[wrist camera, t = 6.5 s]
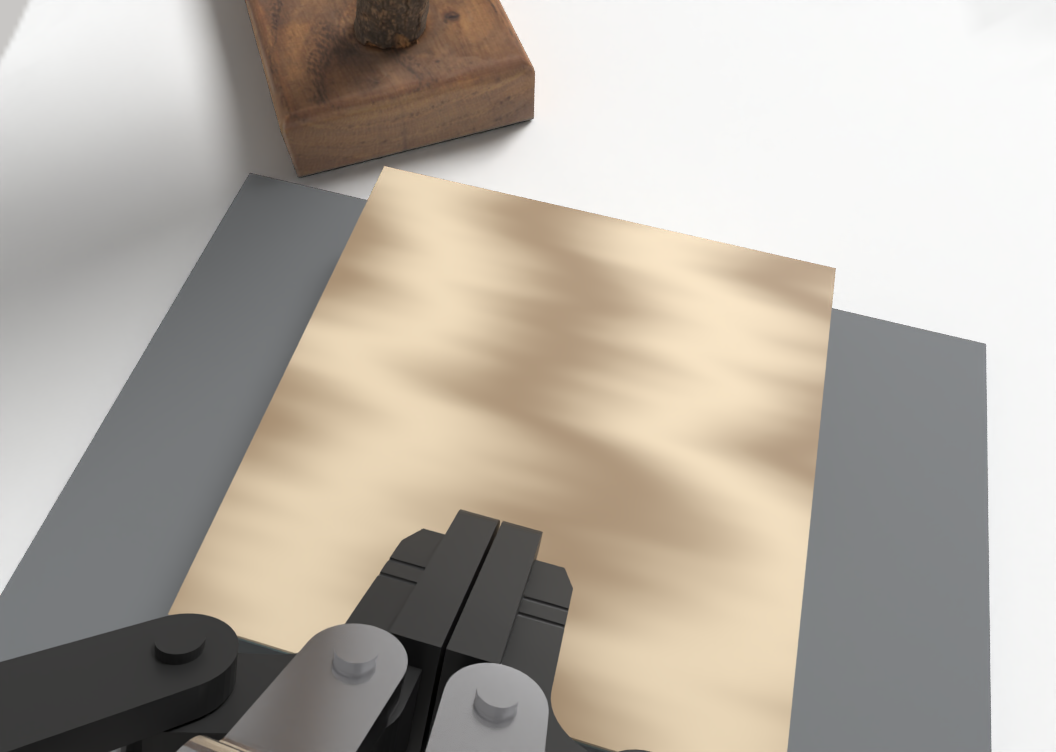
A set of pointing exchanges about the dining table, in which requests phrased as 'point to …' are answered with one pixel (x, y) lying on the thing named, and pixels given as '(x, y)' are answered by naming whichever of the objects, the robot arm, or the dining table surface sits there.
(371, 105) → the bird figurine
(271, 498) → the board
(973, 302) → the dining table surface
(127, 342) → the dining table surface
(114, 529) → the mat
